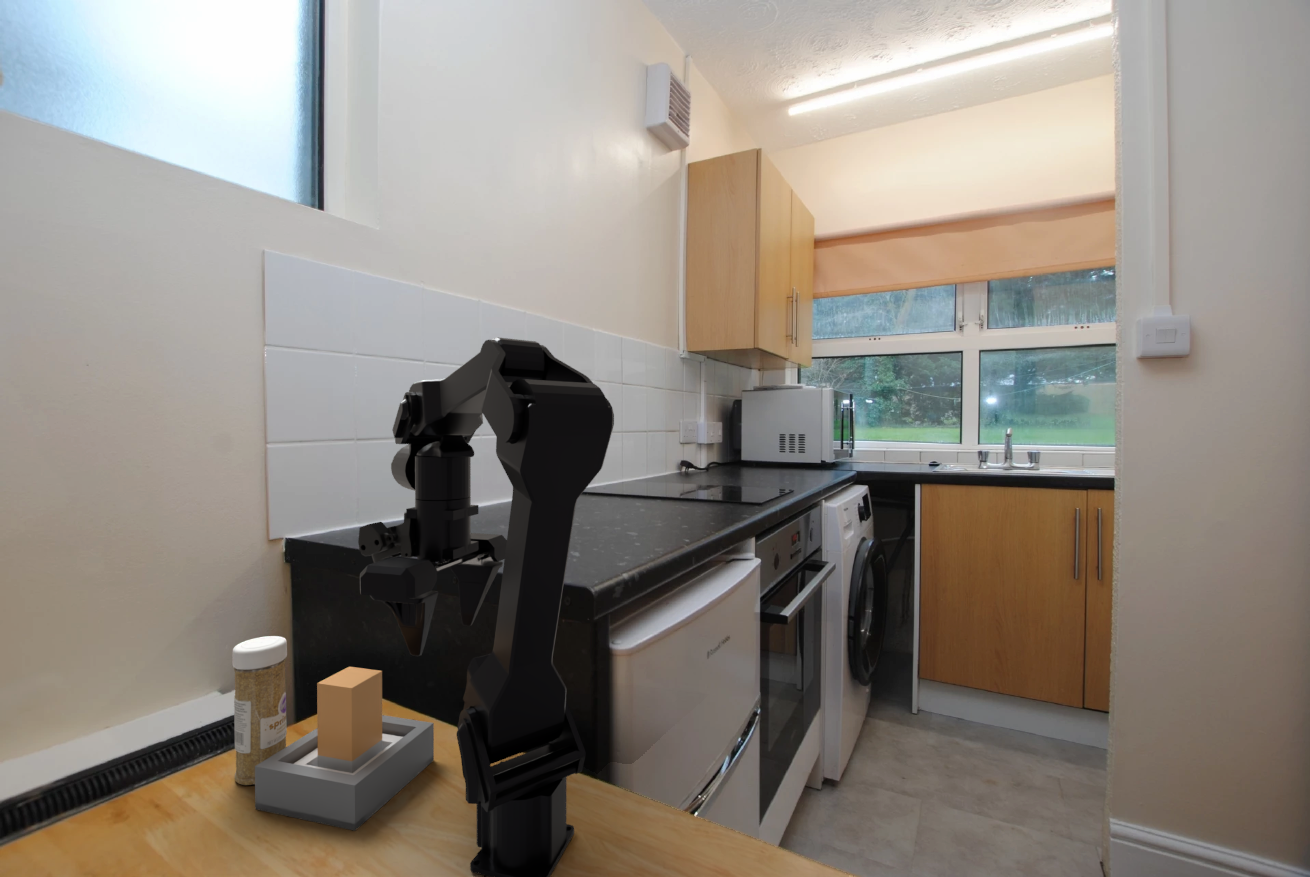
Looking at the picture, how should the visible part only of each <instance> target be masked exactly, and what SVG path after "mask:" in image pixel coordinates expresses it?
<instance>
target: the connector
mask: <svg viewBox="0 0 1310 877" xmlns="http://www.w3.org/2000/svg"><path fill="white" fill-rule="evenodd" d="M316 686H317V687H316V688H317V689H316V690H317V691H316V692H317V694H316V697H317V698H316V699H317V702H316V705H317V707H316V708H317V711H316V712H317V713H316V714H317V716H316V719H317V726H316V727H317V728H316V729H317V733H318V767H322V768H327V769H333V770H338V771H344V772H349V773H353V772H355V771H356V770H357V769H359V768H360V767H361V766H363V765H364V764H365V763H367V762H368V761H369V760H370V759H372V758H373V757H374V756H376V755H377V754H378V753H380V752H381V751H382V715H383V670H378V669H370V668H363V667H355V666H348V667H346V668H344V669H342V670H340V671H338V672H336V673H333V674H332V675H330V676H328V677H326V678H325V679H323V680H320V681H319V682H317V683H316Z"/></svg>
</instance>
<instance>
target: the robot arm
mask: <svg viewBox="0 0 1310 877" xmlns="http://www.w3.org/2000/svg"><path fill="white" fill-rule="evenodd" d="M483 416H484V418H485V419H486V421H487V423H488V424H489V426H490V429H491V430H492V432H494V435H495V437H496V439H495V440H496V442H495V444H496V445H495V454H496V457H497V458H498V460H499V463H500V464H501V467H502V469H503V471H504V472H505V474H506V476H507V478H508V480H509V482H510V484H511V486H512V497H511V505H510V514H509V520H508V529H507V530H508V531H507V535H506V536H507V537H506V538H505V535H503V534H495V533H492V534H491V533H476V532H471V530H472V529H471V522H472V521H471V520H472V519H471V518H472V517H473V516H476V515H479V505H478V504H471V492H472V491H471V479H472V478H471V475H472V474H471V470H472V469H471V467H472V466H471V458H473V457H474V456H475V450H474V448H473V447H472V445H470V444H469V443H470V442H471V440H472V438H473V436H474V435H475V432H476V431H477V430H478V429H479V428H480V427H481V426H482V425H483V424H484V418H483ZM614 425H615V414H614V409H613V406H612V405H611V403H610V400H608V398H606V395H605V393H604V392H603V390H602V389H601V388H600V387H599V386H598V385H597V384H595V383H594V382H593V381H592V380H591V379H590V378H589V377H588V376H587V375H585V374H584V373H582V372H580V371H579V370H577V369H575V368H573V367H572V366H571V365H568V364H567V363H565V362H564V361H562V360H560V359H558V358H556V357H555V356H554V355H553V353H552V352H551V351H550V350H549V349H548V348H547V347H546V346H545V345H543V344H541V343H539V342H537V341H534V340H533V341H532V340H525V339H515V338H514V339H513V338H507V337H494V338H492V339H486V340H485V341H484V342H483V343H482V346H481V348H480V351H479V352H478V353H477V354H475V355H474V356H473V357H471V358H469V360H467V361H466V362H465V363H464V364H462V365H460V367H459V368H457V369H455V370H454V371H453V372H452V373H450V374H449V375H448V376H446V377H445V378H436V379H423V380H418V381H415V382H413V383H412V384H411V385H410V387H409V390H408V391H407V392H405V393H404V395H403V399H402V401H401V402H400V403H399V405H398V409H397V412H396V416H395V420H394V423H393V425H392V426H393V427H392V433H393V438H394V442H395V444H396V445H404V446H402V447H401V448H400V449H399V450H398V451H397V452H396V453H395V454H394V456H393V459H392V462H391V463H390V469H391V470H390V471H391V474H392V475H391V476H392V478H393V479H394V480H395V481H396V483H397V484H398V485H400V486H401V487H402V488H405V489H408V490H410V491H415V492H414V493H415V494H414V498H415V499H414V507H407V508H406V510H405V511H404V514H403V522H402V523H400V524H396V525H393V526H389V527H387V526H386V524H384V522H382V521H377V522H373V523H372V522H371V523H368V524H365V525H363V526H361V527H359V531H358V539H357V543H358V550H359V552H360V554H361V555H362V556H364V557H370V556H371V558H372V561H373V562H372V563H370V564H367V565H366V566H365V568H364V569H363V570H362V571H361V572H360V573H359V593H360V595H361V596H370V598H371V599H372V600H373V601H378V602H382V603H383V604H384V605H386V606H387V607H388V608H389V609H390V610H391V612H392V613H393V616H394V618H395V619H396V622H397V624H398V627H399V629H400V631H401V635H402V636H403V638H404V642H405V643H406V646H407V649H408V651H409V654H410V655H412V656H415V657H420V656H422V654H423V652H424V648H425V645H426V642H427V639H428V638H427V637H428V634H429V631H430V628H431V624H432V623H431V622H432V618H433V615H434V611H435V606H436V603H437V598H438V595H439V591H438V590H433V589H434V587H435V586H436V583H437V581H438V573H440V572H442V571H443V572H444V570H447V569H450V570H451V572H452V573H453V574H454V575H455V577H456V578H457V583H458V596H459V598H458V599H459V608H460V609H459V610H460V617H461V624H462V626H465V627H466V626H467V627H470V626H472V625H473V623H474V621H475V620H476V617H477V616H478V613H479V611H480V608H481V606H482V604H483V602H484V600H485V599H486V595H487V593H488V591H489V589H490V588H491V585H492V584H493V581H494V580H495V577H496V576H497V574H498V573H499V572H498V571H499V570H500V569H501V568H502V567H503V570H502V576H501V584H500V585H501V586H500V593H499V602H498V608H497V609H498V610H497V615H496V616H497V617H496V625H495V633H494V640H493V641H494V642H493V647H492V651H491V652H490V653H489V654H485V655H480V656H477V657H472V659H470V661H469V662H470V663H469V665H468V667H467V670H466V686H465V691H464V694H463V697H462V701H463V702H464V703H463V704H464V705H463V709H462V710H461V711H460V712H459V717H458V723H457V730H456V740H457V743H458V744H457V745H458V749H459V755H460V760H461V768H462V769H461V770H462V776H463V779H464V782H465V802H467V804H470V805H476V846H477V847H478V848H480V850H479V851H478V852H477V853H476V855H475V856H474V857H473V858H472V860H471V861H470V863H469V865H470V866H469V870H470V872H472V873H473V874H479V875H482V876H483V875H484V876H487V877H550V876H551V875H552V874H553V871H554V870H555V868H556V866H557V864H558V863H559V861H560V859H561V858H562V856H563V854H564V852H565V851H566V849H567V847H568V845H569V843H570V842H571V840H572V838H573V837H574V834H575V826H574V825H572V824H567V778H568V777H569V776H572V775H574V774H576V775H577V774H579V773H581V772H583V770H584V764H585V760H586V754H587V753H586V749H585V747H584V744H583V742H582V739H581V737H580V734H579V731H578V729H577V725H576V723H575V720H574V718H573V714H572V712H571V709H570V706H569V704H568V701H567V686H566V684H565V683H564V681H563V679H562V677H561V675H560V673H559V672H558V669H557V668H556V666H555V664H554V662H553V660H554V658H553V656H554V651H555V643H556V637H557V630H558V626H559V625H558V624H559V618H560V617H559V616H560V611H561V605H562V598H563V589H564V584H565V579H566V573H567V572H566V570H567V565H568V558H569V552H570V546H571V540H572V539H571V538H572V534H573V533H572V532H573V527H574V526H573V524H574V521H575V520H574V518H575V512H576V505H577V502H578V499H579V498H580V496H582V494H583V493H584V491H585V490H586V489H587V487H588V486H589V485H590V484H591V483H592V482H593V480H594V479H595V477H597V475H598V474H599V472H600V471H601V470H602V468H603V466H604V463H605V459H606V454H607V451H608V447H609V444H610V440H611V436H612V433H613V430H614ZM545 744H546V745H545ZM543 745H544V746H543ZM537 747H538V748H537ZM534 748H536V749H534ZM532 749H533V750H532ZM526 751H528V752H526ZM524 752H526V753H524ZM521 753H523V754H521ZM518 754H520V755H518ZM516 755H518V756H516ZM513 756H515V757H513ZM510 757H512V758H510ZM508 758H509V759H508ZM506 759H507V760H506ZM503 760H504V761H503ZM497 762H499V763H497ZM494 763H496V764H494ZM492 764H494V765H492Z"/></svg>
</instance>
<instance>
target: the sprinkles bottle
mask: <svg viewBox="0 0 1310 877" xmlns="http://www.w3.org/2000/svg"><path fill="white" fill-rule="evenodd" d="M287 656H288V641H287V639H286V638H285V637H284V636H280V635H279V636H278V635H270V636H269V635H268V636H260V637H254V638H251V639H247V640H244V641H242V642H239V643H238V644H236V645H235V646H234V647H233V648H232V657H231V658H232V664H231V665H232V668H233V670H234V697H233V703H234V705H233V707H234V708H233V711H234V714H233V715H234V750H235V768H236V769H235V773H234V781H235V782H236V783H237V784H239V785H243V786H251V785H255V766H256V765H258V764H259V763H261V762H263V761H264V760H266V759H268V758H269V757H271V756H272V755H274V754H276V753H277V752H279V751H281V750H282V749H284V748H286V747H287V732H288V731H287V693H286V662H287V661H286V660H287V659H286V658H287Z"/></svg>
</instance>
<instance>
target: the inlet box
mask: <svg viewBox="0 0 1310 877" xmlns="http://www.w3.org/2000/svg"><path fill="white" fill-rule="evenodd" d="M434 727H435V726H434V722H430V721H425V720H416V719H411V718H410V719H409V718H403V717H398V716H391V715H385V714H384V715H383V714H382V751H381V752H380V753H378V754H377V755H376V756H374V757H373V758H372V759H370V760H369V761H368V762H367V763H365V764H364V765H363V766H361V767H360V768H359V769H357V770H356V771H355V772H353V773H349V772H344V771H338V770H333V769H327V768H322V767H318V733H317V728H315V729H313V730H312V731H310V732H309V733H307V734H305V735H304V736H302V737H300V738H299V739H297V740H296V741H294V742H291V744H289V745H286V748H284V749H282V750H281V751H279V752H277V753H276V754H274V755H272V756H271V757H269V758H268V759H266V760H264V761H263V762H261V763H259V764H258V765H256V766H255V784H254V793H255V794H254V801H255V802H254V804H255V805H254V806H255V810H258V811H262V812H265V813H266V812H267V813H271V814H276V815H280V816H285V817H291V818H294V819H300V820H303V821H309V822H313V823H318V824H321V825H327V826H333V827H334V828H335V827H336V828H340V829H345V830H350V831H354V832H355V831H357V830H358V829H359V828H360V827H361V826H362V825H363V824H364V823H366V821H368V820H369V819H370V818H371V817H373V815H375V813H376V812H378V811H379V810H380V809H381V808H382V807H383V806H385V804H387V803H388V802H389V801H390V800H391V799H392V798H393V797H395V795H397V794H398V793H399V792H400V791H401V790H403V788H405V786H407V785H408V784H409V783H410V782H411V781H412V780H414V779H415V778H416V777H417V776H418V775H419V774H420V773H422V772H423V771H424V770H425V769H426V768H427V767H428V766H429V765H431V764H432V763H433V762H434V761H435V759H434V757H435V754H434V753H435V752H434V751H435V750H434V749H435V747H434V744H435V743H434V740H435V739H434V737H435V736H434V734H435V732H434V730H435V728H434Z"/></svg>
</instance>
